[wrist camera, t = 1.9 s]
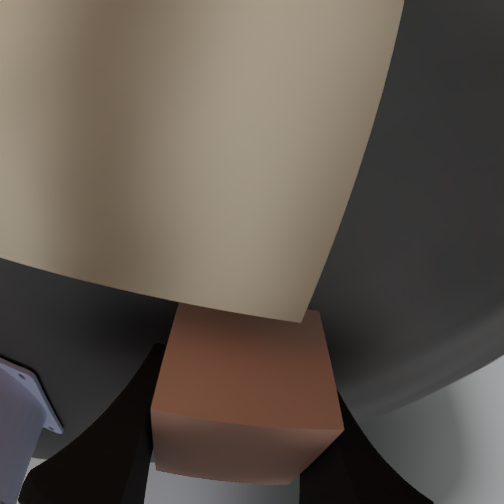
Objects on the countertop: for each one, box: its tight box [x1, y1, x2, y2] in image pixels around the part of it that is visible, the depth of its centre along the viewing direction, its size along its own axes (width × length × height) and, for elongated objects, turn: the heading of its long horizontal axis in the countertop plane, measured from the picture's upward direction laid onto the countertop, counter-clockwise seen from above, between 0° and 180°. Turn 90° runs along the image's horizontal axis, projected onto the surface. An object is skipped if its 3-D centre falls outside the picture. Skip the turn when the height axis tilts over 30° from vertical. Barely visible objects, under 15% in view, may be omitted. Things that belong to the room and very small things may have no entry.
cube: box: [151, 302, 344, 485], centre depth 10 cm, size 5×5×5 cm
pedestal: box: [0, 0, 404, 323], centre depth 6 cm, size 12×12×3 cm
